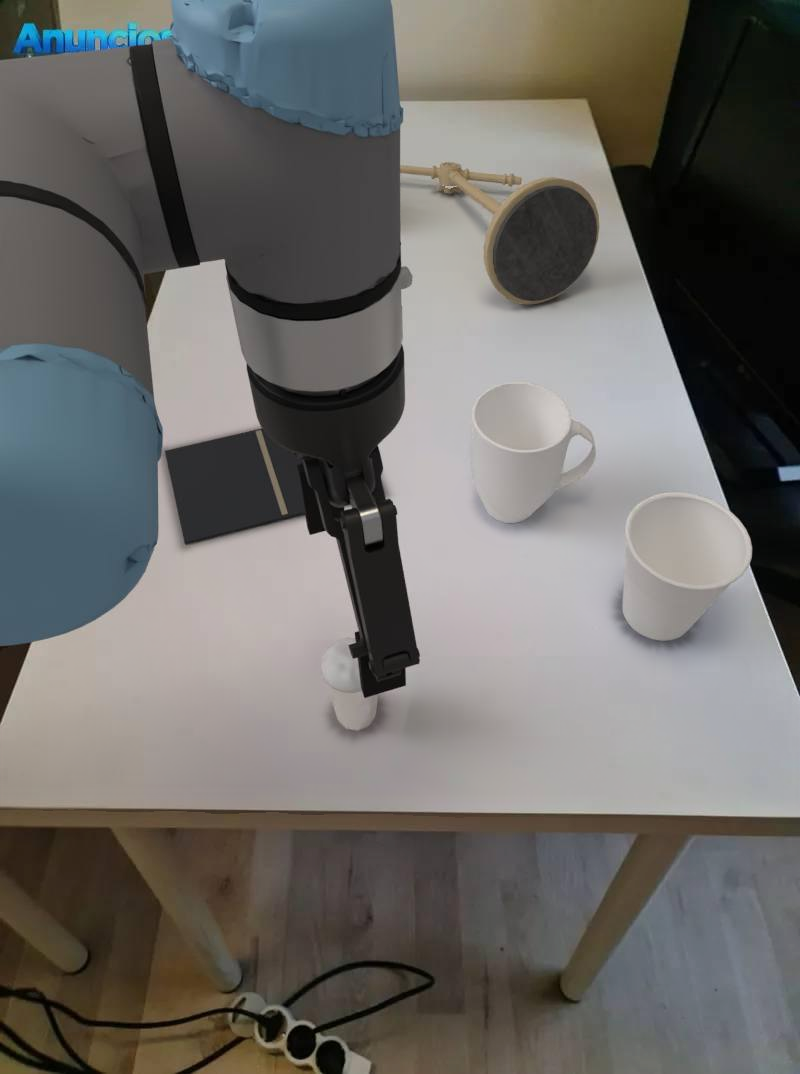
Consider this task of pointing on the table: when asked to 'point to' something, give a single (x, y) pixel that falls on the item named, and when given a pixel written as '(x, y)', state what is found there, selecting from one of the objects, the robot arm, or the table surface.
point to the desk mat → (233, 484)
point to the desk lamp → (529, 231)
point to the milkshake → (347, 687)
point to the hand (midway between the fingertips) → (353, 601)
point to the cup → (679, 561)
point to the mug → (522, 448)
